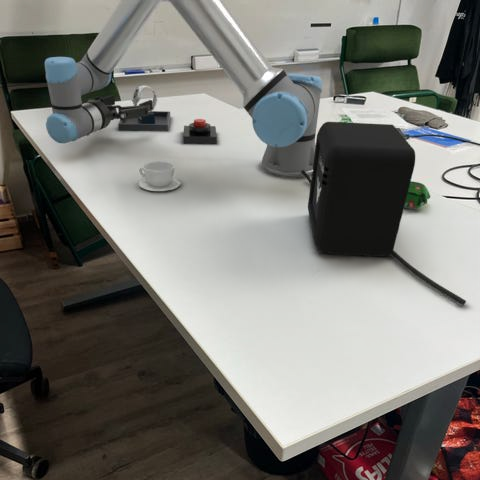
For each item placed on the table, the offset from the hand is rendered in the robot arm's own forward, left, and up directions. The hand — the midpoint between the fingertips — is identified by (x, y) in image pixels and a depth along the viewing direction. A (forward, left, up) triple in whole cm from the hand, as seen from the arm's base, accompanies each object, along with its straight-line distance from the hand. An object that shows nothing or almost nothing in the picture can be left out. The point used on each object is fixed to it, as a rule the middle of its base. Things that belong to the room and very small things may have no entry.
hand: (132, 102), depth 150 cm
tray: (+7, -3, -8) cm, 11 cm away
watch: (+7, -3, -8) cm, 11 cm away
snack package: (-59, -66, -8) cm, 89 cm away
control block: (-9, -21, -8) cm, 24 cm away
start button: (-9, -21, -4) cm, 23 cm away
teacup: (-49, -11, -8) cm, 51 cm away
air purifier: (-76, -50, -8) cm, 92 cm away
